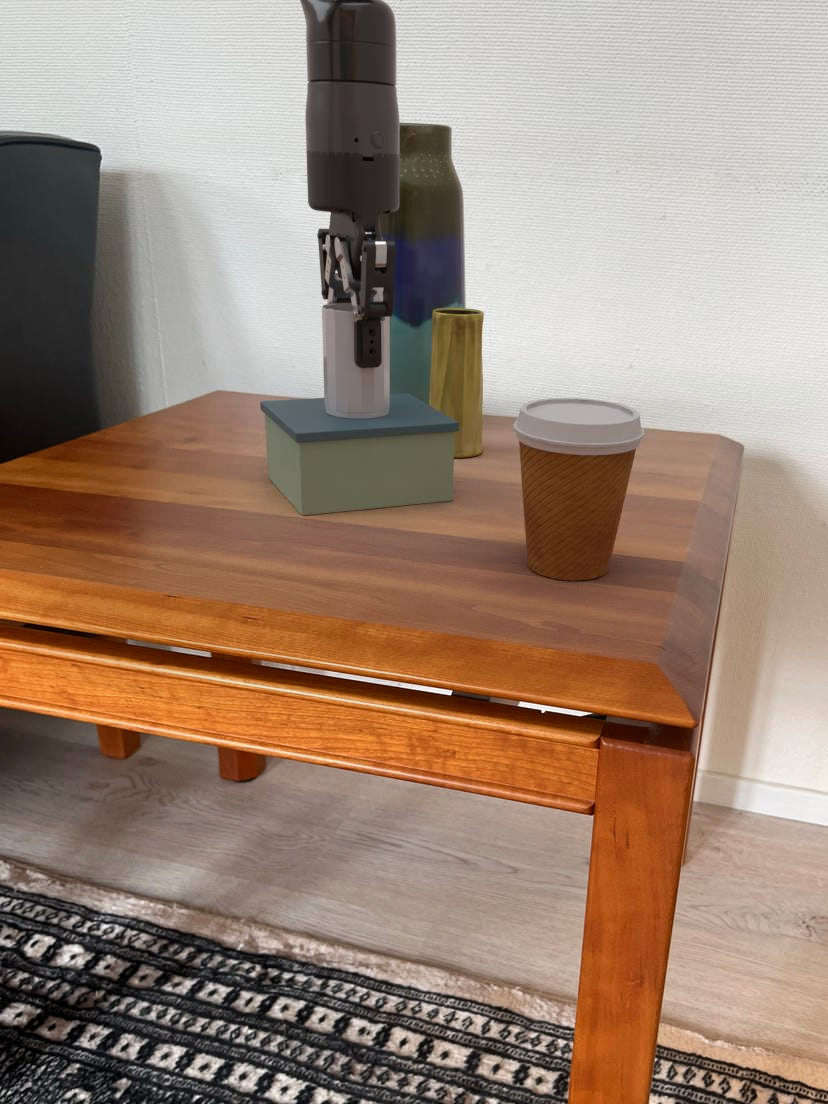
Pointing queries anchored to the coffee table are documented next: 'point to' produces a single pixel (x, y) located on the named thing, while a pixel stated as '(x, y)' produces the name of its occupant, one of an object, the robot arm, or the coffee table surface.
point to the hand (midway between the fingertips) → (356, 359)
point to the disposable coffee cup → (574, 482)
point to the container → (359, 455)
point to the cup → (352, 368)
